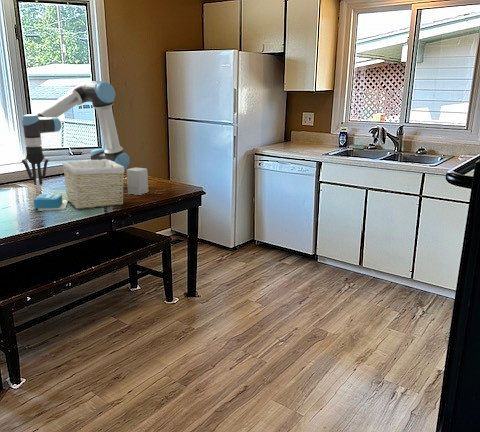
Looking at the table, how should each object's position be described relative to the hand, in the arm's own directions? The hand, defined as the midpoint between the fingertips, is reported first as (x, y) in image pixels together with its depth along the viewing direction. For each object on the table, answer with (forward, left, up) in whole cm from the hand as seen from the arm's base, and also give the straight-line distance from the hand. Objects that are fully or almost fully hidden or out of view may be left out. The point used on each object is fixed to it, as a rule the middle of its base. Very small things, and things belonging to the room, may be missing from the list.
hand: (39, 191), depth 231 cm
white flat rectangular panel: (-6, 0, -8) cm, 10 cm away
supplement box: (-51, -18, -9) cm, 55 cm away
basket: (-27, -2, -8) cm, 29 cm away
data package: (+2, 0, -5) cm, 6 cm away
